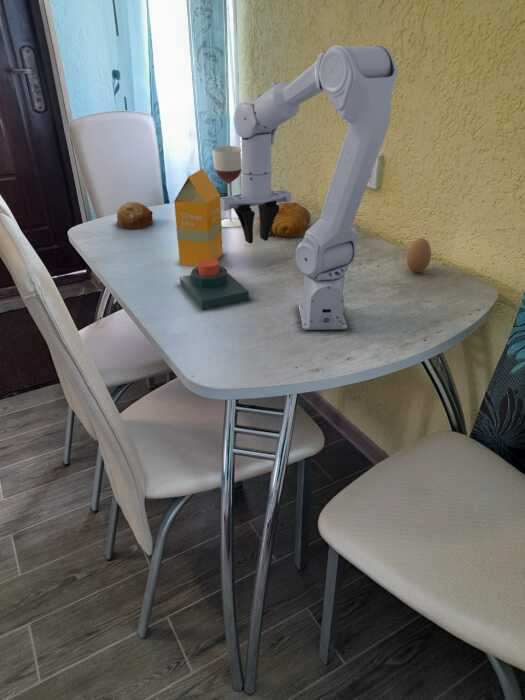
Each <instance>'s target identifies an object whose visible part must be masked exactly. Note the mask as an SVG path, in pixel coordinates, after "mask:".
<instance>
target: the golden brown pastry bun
mask: <svg viewBox="0 0 525 700" xmlns="http://www.w3.org/2000/svg"><path fill="white" fill-rule="evenodd" d="M277 205H278V206H279V212H278V214H277V215H276V217H275V219H274V221H273V223H272V226H271V229H270V232H269V236H273V235H275V236H276V237H280V238H282V237H283V238H296V237H299V236H300V235H301V234H303V233H304V232H306V229H307V227H308V225H309V224H310V222H311V217H312V215H311V213H310V211H309V210H308V209H307V208H306V207H304V206H303V205H301V204H299V203H297V202H278V203H277ZM257 220H258V227H259V229H260V215H259V214H258V216H257Z"/></svg>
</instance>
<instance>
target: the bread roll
mask: <svg viewBox="0 0 525 700" xmlns="http://www.w3.org/2000/svg"><path fill="white" fill-rule="evenodd" d="M153 214H154V213H153V211H152V210H151V209H150V207H147V205H145V204H144V203H141V202H139V201H126V202H124V203H122V205H120V206H119V208H118V209H117V212H116V225H118V227H120V228H122V229H124V230H136V229H137V230H139V229H143V228H146V227H148V226H150V225H152V223H153V221H154V220H153Z"/></svg>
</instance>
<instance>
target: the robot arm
mask: <svg viewBox="0 0 525 700" xmlns="http://www.w3.org/2000/svg"><path fill="white" fill-rule="evenodd" d="M395 61H396V60H395V59H394V56H393V53H392V52H391V50H390V49H389V48H388V47H387V46H385V45H382V44H375V45H372V46H370V45H369V46H368V45H364V46H363V45H362V46H361V45H359V46H358V45H356V46H355V45H354V46H350V45H349V46H344V45H341V44H335V45H332V46H331V47H329V48H328V49H327V50H326V51H323V52H322V53H319V54H318V55H317V57H316V61H315V62H314V63H312V64H311V65H310V66H309V67H308V68H306V69H305V70H304V71H303V72H301V74H299V75H298V76H297V77H295V78H294V79H293V80H292V81H291V82H290V83H288V82H285V81H280V80H279V81H273V82H272V83H270V84H269V87H270V88H269V89H268V90H266V91H265V92H264V93H262V94H257V95H256V96H255V97H254V99H255V100H253V101H252V102H240V103H239V104H238V105H237V106H236V107H235V109H234V112H233V126H234V129H235V132H236V134H237V136H239V137H240V147H241V173H240V176H241V177H240V178H241V193H238V194H235V195H231V196H230V197H228V196H226V197H220V207H221V210H223V211H225V212H228V211H229V209H231V210H232V209H233V211H234V212H235V214H236V216H237V218H238V220H240V223H241V228H242V231H243V236H244V240H245V242H247V243H248V244H254V243H253V242H254V220H255V215H256V212H255V211H254V210H252V207H254V206H255V207H256V206H257V207H258V216H259V215H260V228H259V236H260V239H261V240H263V241H265V242H266V241H269V236H270V235H269V232H270V229H271V226H272V223H273V221H274V219H275V217H276V215H277V214H278V212H279V206H278V205H277V204H278V203H286V202H287V203H290V202H291V201H292V192H291V191H289V190H286V189H283V190H282V189H281V190H272V146H273V145H274V143H275V136H276V133H277V130H278V129H279V127H280V126H281V125H283V124H284V123H286V122H288V121H289V120H290V119H292V118H293V117H295V116H296V115H298V113H299V110H300V107H301V104H303V103H304V102H306V101H308V100H310V99H312V98H314V97H315V96H317V95H319V94H321V93H323V92H324V93H325V95H326V96H327V98H328V99H329V101H330V102H331V104H332V106H333V107H334V109H336V112H338V114H339V116H340V117H341V118H342V119H344V120H345V122H346V124H347V130H346V133H345V137H344V140H343V142H342V146H341V149H340V152H339V155H338V158H337V162H336V165H335V168H334V170H333V175H332V177H331V181H330V184H329V187H328V190H327V194H326V197H325V200H324V202H323V206H322V210H321V212H320V216H319V218H318V220H317V221H316V222H314V223H313V224H312V225H311V226H310V227H309V228H308V229H307V230H305V233H304V237H303V239H302V240H301V241H300V242H299V243H298V244H297V246H296V249H295V263H296V265H297V268H298V270H299V271H300V272H301V274H302V275H303V276H304V277H303V296H302V304H299V305H298V310H299V315H300V321H301V326H302V329H303V330H305V331H317V330H318V331H322V330H325V331H327V330H330V331H331V330H333V331H334V330H335V331H336V330H347V329H348V325H347V322H346V319H345V316H344V308H345V295H344V287H345V274H346V273H347V272H348V270H349V265H351V264H352V263H353V261H355V259H356V255H357V241H358V238H359V235H360V234H359V233H358V231H357V230H356V228H355V227H354V226H353V225H354V221H355V218H356V216H357V213H358V210H359V207H360V205H361V202H362V200H363V196H364V194H365V192H366V189H367V186H368V183H369V181H370V178H371V175H372V172H373V170H374V167H375V165H376V161H377V159H378V156H379V154H380V151H381V149H382V145H383V143H384V140H385V137H386V135H387V132H388V129H389V126H390V123H391V111H392V108H391V107H392V93H393V90H394V88H395V85H396V83H397V79H398V76H399V73H400V72H399V69H398V67H397V64H396V62H395ZM291 203H292V202H291Z"/></svg>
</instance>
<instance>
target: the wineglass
mask: <svg viewBox="0 0 525 700" xmlns="http://www.w3.org/2000/svg"><path fill="white" fill-rule="evenodd" d="M212 157H213V158H212V160H213V167H214V171H215V173H216V175H217V177H218V178H219V179H221V180H222V181H223V182H225V183H227V197H230V196H232V194H231V193H232V191H231V183H232V182H234V181H235V180H237V179H238V178H239V177H240V176H241V146H233V145H225V146H222V145H221V146H216V147H213V148H212ZM221 225H222V227H223V228H237V227H242V225H241V223H240V220H239V219H235V218H232V209H229V210H228V218H227V219H221Z"/></svg>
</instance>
